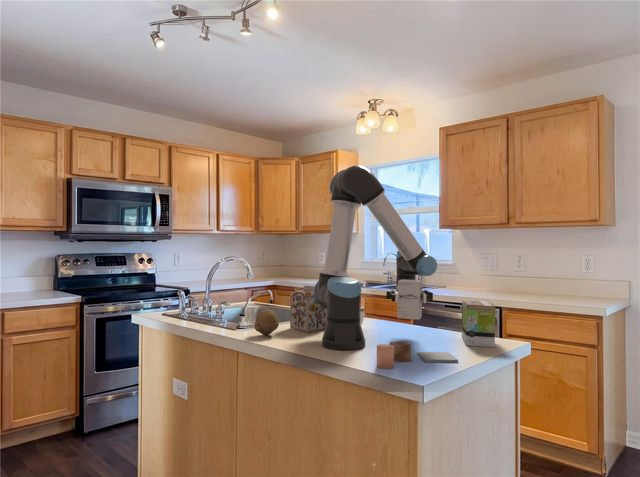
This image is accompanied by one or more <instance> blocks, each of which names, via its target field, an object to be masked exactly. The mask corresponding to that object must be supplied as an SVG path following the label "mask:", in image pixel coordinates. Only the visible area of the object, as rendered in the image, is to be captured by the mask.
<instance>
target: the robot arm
mask: <svg viewBox="0 0 640 477" xmlns="http://www.w3.org/2000/svg"><path fill="white" fill-rule="evenodd" d="M329 191H330V194H331V199H330V203H331V205H332V206H333V211H332V217H331V218H332V219H331V223H330V230H329V237H328V243H327V250H326V256H325V264H324V268H323V269H322V270H320V271H319V275H318V281H317V282H316V283H315V285H314V286H315V287H314V297H315V300H316V301H317V303H318V304H319V305H320V306H321V307H323V308H325V309H327V325H326V328H325V330H324V332H323V335H322V338H321V346H323V347H324V348H327V349H330V350H336V351H337V350H338V351H352V350H354V351H355V350H360V349H363V348H365V347H366V337H365V335H364V331H363V328H362V324H360V317H361V306H362V303H361V302H362V286H361V282H360V280H359V279H356V278H352V277H351V276H350V274H349V273H348V265H349V258H350V253H351V252H350V251H351V245H352V239H353V238H352V237H353V232H354V227H355V218H356V213H357V210H359V209H360V208H361V205H362V206H364V207H367V208H368V209H369V211H370V213H371V214H372V215H373V217H374V218H375V219H376V221H377V222H378V223H379V225H380V227H381V228H382V229H383V231H384V232H385V233H386V235H387V236H388V237H389V239H390V240H391V241H392V243H393V245H394V246H395V247H396V250H397V252H396V259H395V260H396V262H395V263H396V278H395V279H396V280H395V283H396V284H395V289H392V288H389V290H386V294H385V295H386V298H385V299H387V300H390V299H391V302H395V303H398V281H399V280H416V276H421V277H429V276H432V275H434V274H435V273H436V271H437V270H438V261H437V260H436V258H434V256H431V255H430V254H427V253H426V252H425V250H424V248H422V246H421V245H420V243H419V241H418V240H417V239H416V237H415V236H414V235H413V233H412V232H411V230H410V228H409V227H408V225H407V224H406V223H405V222H404V220H403V219H402V217H401V216H400V214H399V213H398V211H397V210H396V208H394V206H393V204H392V203H391V201H390V200H389V199H388V197H387V196H386V194H385V193H386V189H385V188H384V186H383V185H382V184H381V182H380V180H378V178H377V177H376V176H375V175H374V173H373V172H371V171H370V170H369V169H368V168H366V166H363V165H351V166H349V167H347V168H345V169H343V170H340V171H338V172H337V173H336V174H334V176H332V178H331V181H330V183H329ZM433 300H434V293H433V292H431V291H429V290H428V289H424V290H422V303H423V304H427V301H432V302H433Z"/></svg>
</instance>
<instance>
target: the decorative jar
mask: <svg viewBox="0 0 640 477" xmlns="http://www.w3.org/2000/svg"><path fill="white" fill-rule="evenodd" d="M314 287H315V285H304V286H303V289H297V290H296V291H295V292H293V294H292V295H291V296H290V310H289V311H290V312H289V318H290V319H289V323H290V324H289V327H290V329H292V328H293V330H295V331H300V330H301V331H302V332H304V331H305V333H312V332H319V331H323V330H324V329H325V328H326V325H327V309H325V308H323V307H321V306H320V305H319V304H318V303H317V301H316V300H315V297H314ZM318 330H319V331H318ZM324 331H325V330H324Z"/></svg>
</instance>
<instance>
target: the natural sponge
mask: <svg viewBox="0 0 640 477" xmlns="http://www.w3.org/2000/svg"><path fill="white" fill-rule="evenodd" d="M279 325H280V323H279V317H278V315H277V314H276V313H275V311H273V310H271V309H264V310H262V311H260V312H259V313H258V315H257V316H256V319H255V322H254V329H255V331H256V332H258V333H259V334H262V335H263V336H270V335H271V334H272V333H273V332H274V331H276V330H277V329H278V327H279Z"/></svg>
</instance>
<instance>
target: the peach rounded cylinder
mask: <svg viewBox="0 0 640 477" xmlns="http://www.w3.org/2000/svg"><path fill="white" fill-rule="evenodd" d="M376 367H377V368H378V369H381V370H382V369H383V370H391V369H392V370H393V369H394V368H395V362H394V346H393V345H390V343H389V344H388V343H379V344H377V345H376Z"/></svg>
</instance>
